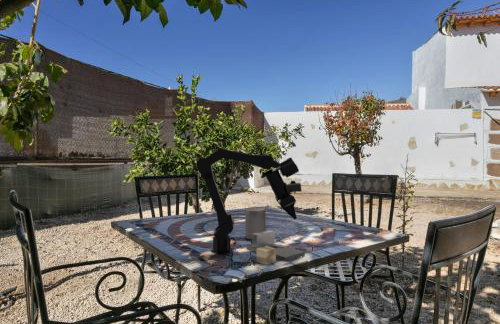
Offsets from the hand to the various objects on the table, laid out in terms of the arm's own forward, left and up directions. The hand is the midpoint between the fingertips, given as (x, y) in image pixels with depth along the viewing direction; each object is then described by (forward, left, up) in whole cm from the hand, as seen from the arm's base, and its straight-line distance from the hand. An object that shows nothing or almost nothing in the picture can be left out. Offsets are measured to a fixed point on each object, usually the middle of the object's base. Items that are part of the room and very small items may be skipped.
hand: (293, 216), depth 148 cm
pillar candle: (+3, +27, -14) cm, 31 cm away
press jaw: (-9, +9, -12) cm, 17 cm away
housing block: (-20, -4, -14) cm, 24 cm away
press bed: (-9, +3, -14) cm, 16 cm away
